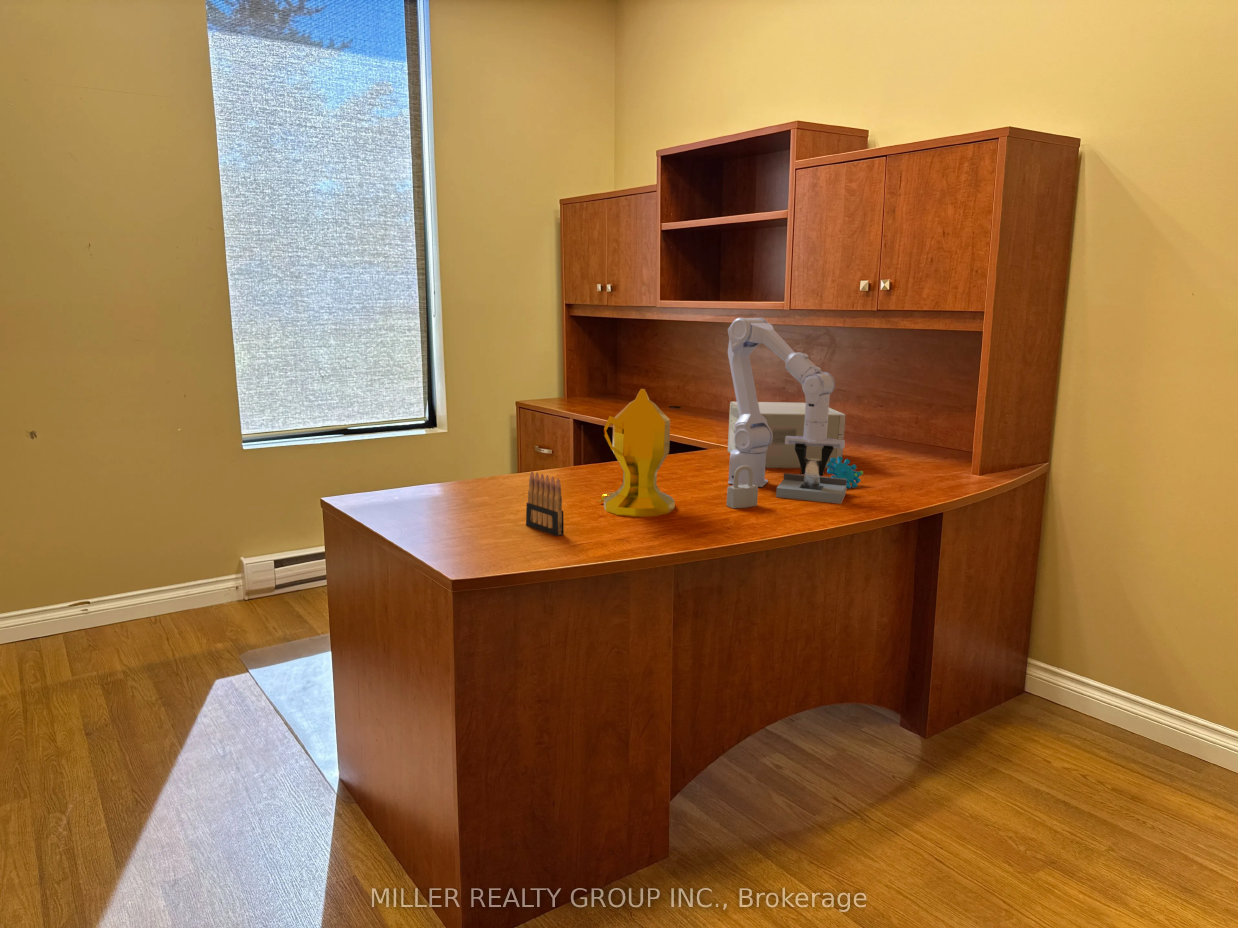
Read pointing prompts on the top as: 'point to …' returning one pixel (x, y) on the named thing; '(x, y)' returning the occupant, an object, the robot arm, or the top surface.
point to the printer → (789, 432)
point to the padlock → (742, 491)
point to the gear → (844, 471)
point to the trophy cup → (639, 459)
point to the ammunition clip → (545, 505)
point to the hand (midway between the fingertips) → (812, 474)
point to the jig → (827, 491)
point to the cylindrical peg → (812, 473)
